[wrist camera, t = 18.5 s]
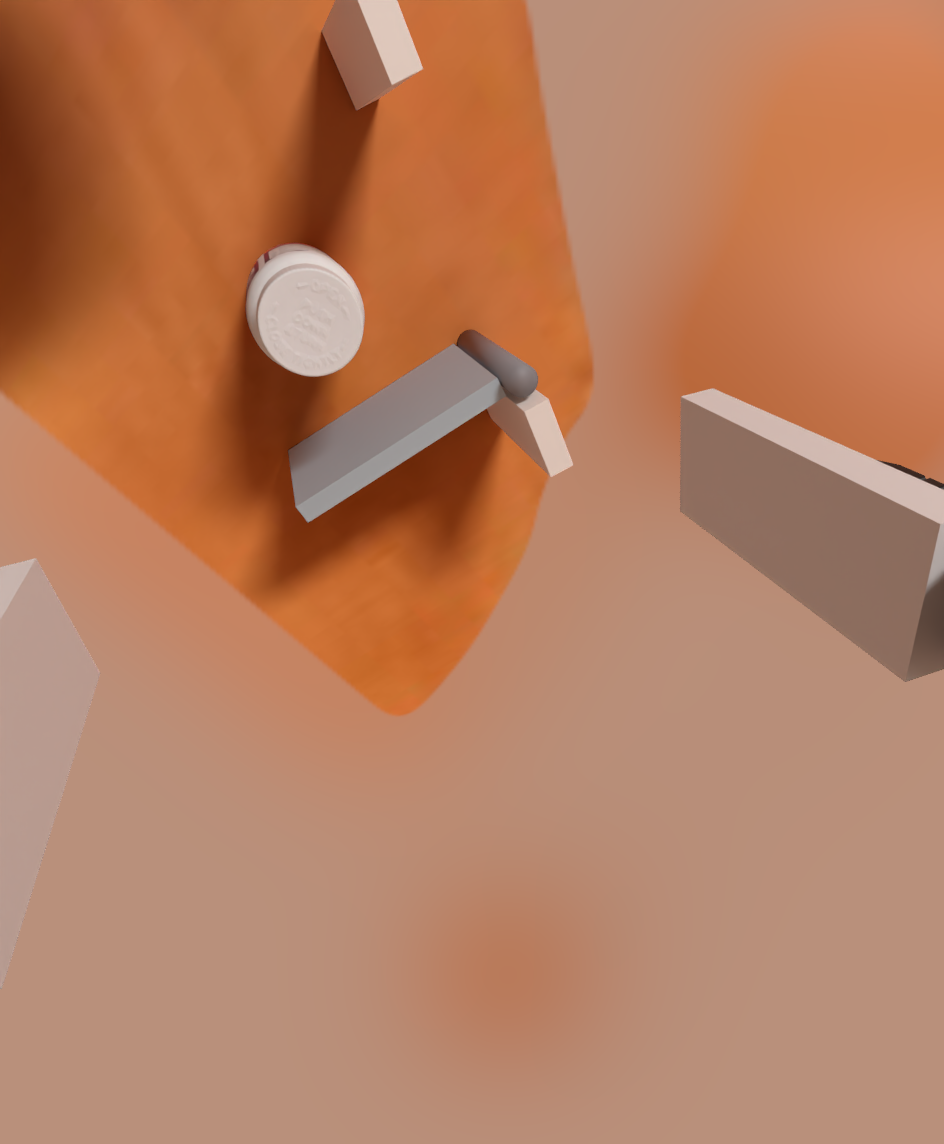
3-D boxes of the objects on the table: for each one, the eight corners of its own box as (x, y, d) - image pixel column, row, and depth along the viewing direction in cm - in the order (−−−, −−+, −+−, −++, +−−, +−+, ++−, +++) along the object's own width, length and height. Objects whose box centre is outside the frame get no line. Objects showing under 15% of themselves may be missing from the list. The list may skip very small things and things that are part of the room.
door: (474, 324, 47) (529, 358, 38) (492, 359, 49) (549, 399, 39) (285, 446, 48) (293, 509, 38) (308, 477, 49) (321, 545, 40)
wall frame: (321, 31, 38) (347, -26, 27) (345, 18, 38) (380, -44, 28) (491, 418, 51) (550, 477, 41) (509, 409, 51) (573, 464, 41)
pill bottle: (296, 365, 45) (308, 414, 36) (224, 286, 42) (216, 315, 33) (367, 303, 45) (399, 335, 35) (300, 217, 41) (315, 227, 32)
